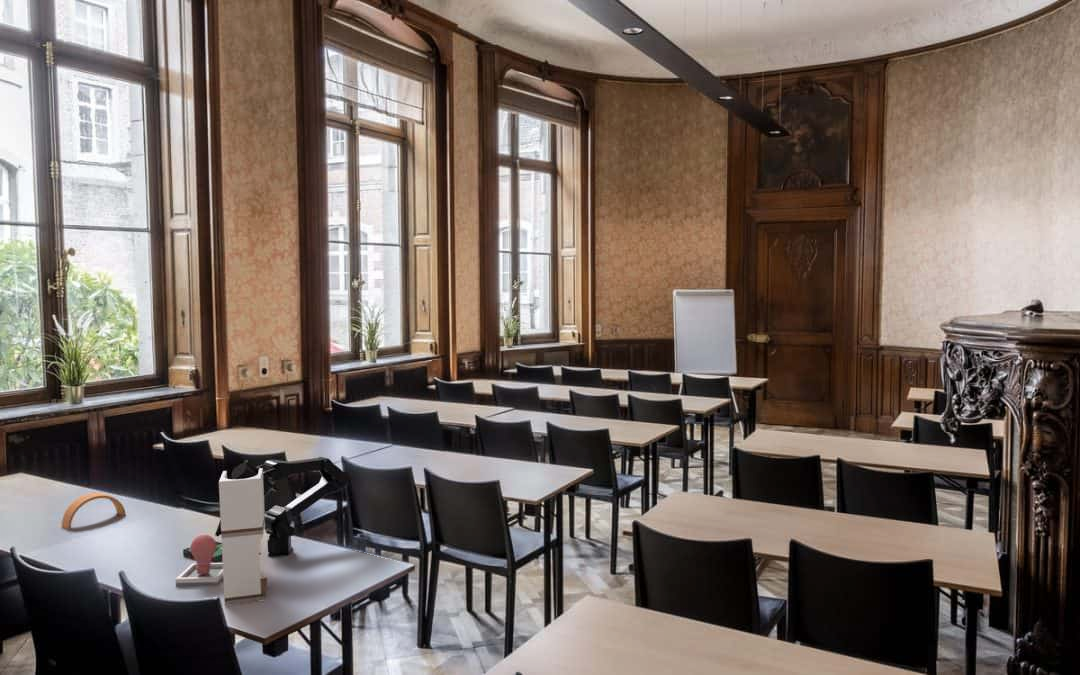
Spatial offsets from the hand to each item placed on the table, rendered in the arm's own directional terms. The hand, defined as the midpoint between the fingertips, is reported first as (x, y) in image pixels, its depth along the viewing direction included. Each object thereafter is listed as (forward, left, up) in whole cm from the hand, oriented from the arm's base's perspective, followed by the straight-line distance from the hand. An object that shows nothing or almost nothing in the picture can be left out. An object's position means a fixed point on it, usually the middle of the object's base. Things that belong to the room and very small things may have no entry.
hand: (223, 539), depth 237 cm
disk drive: (+10, -14, -11) cm, 20 cm away
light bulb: (+4, +5, -9) cm, 11 cm away
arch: (+67, -51, -10) cm, 84 cm away
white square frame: (+4, +5, -10) cm, 12 cm away
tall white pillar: (-13, +18, -10) cm, 24 cm away
